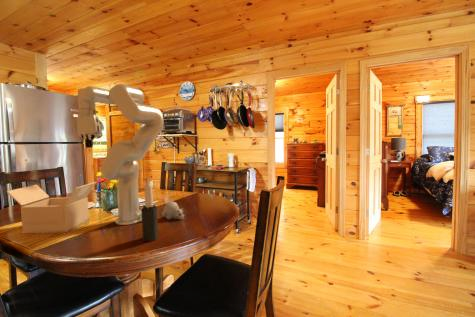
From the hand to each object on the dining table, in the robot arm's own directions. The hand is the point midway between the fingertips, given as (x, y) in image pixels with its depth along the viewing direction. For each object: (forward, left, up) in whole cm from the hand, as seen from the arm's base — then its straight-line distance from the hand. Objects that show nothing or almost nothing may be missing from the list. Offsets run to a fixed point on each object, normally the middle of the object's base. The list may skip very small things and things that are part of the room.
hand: (89, 147), depth 123 cm
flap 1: (+19, +16, -21) cm, 33 cm away
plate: (+21, -15, -38) cm, 46 cm away
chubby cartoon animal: (-46, +10, -37) cm, 60 cm away
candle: (-42, +34, -37) cm, 66 cm away
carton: (+7, +16, -37) cm, 41 cm away
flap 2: (-4, +16, -21) cm, 27 cm away
